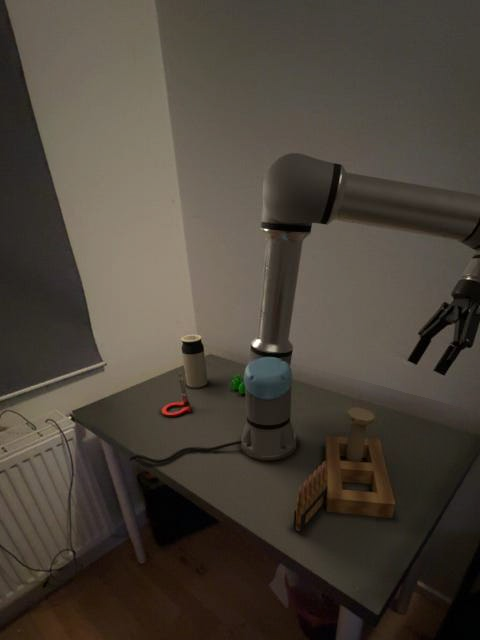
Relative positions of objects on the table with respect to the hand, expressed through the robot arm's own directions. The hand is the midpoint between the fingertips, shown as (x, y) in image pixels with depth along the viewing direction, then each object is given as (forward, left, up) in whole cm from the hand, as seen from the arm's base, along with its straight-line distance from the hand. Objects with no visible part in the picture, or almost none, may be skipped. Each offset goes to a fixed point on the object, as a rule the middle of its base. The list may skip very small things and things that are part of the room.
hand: (424, 367), depth 88 cm
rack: (-16, -22, -20) cm, 34 cm away
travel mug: (-70, +26, -20) cm, 78 cm away
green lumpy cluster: (-49, +24, -20) cm, 58 cm away
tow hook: (-71, +5, -20) cm, 74 cm away
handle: (-16, -17, -20) cm, 31 cm away
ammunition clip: (-26, -36, -20) cm, 49 cm away
